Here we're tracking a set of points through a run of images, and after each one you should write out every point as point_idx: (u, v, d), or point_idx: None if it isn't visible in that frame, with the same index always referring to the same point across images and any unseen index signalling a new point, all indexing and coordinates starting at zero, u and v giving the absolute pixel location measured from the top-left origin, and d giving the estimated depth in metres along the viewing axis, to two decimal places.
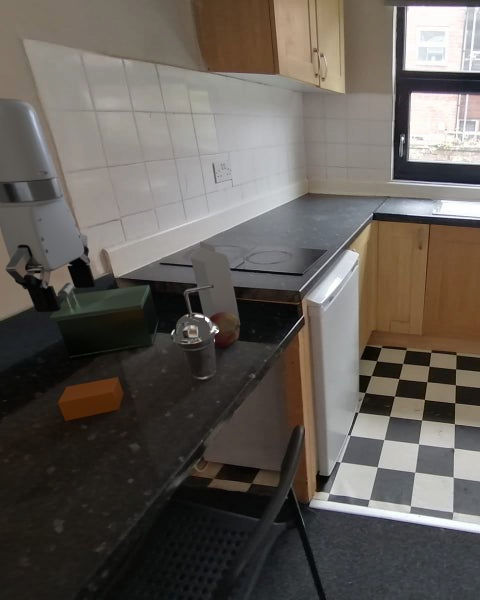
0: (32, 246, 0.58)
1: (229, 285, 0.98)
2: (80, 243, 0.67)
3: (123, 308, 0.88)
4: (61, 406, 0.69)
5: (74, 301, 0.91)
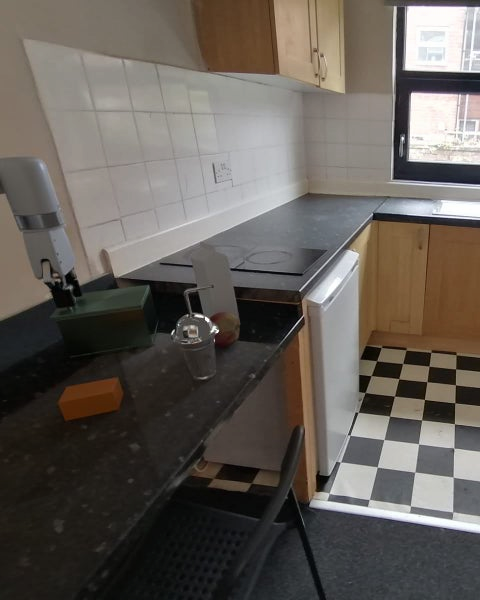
0: (51, 259, 0.81)
1: (229, 285, 0.98)
2: (73, 256, 0.90)
3: (123, 308, 0.88)
4: (61, 406, 0.69)
5: (74, 301, 0.91)
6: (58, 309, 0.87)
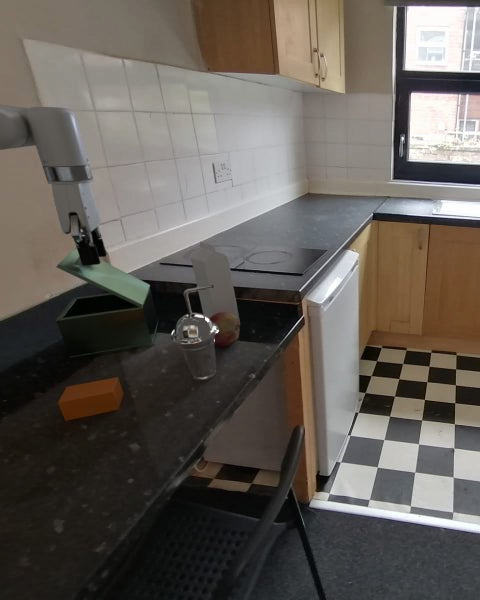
0: (79, 213, 0.80)
1: (229, 285, 0.98)
2: (99, 214, 0.89)
3: (125, 298, 0.88)
4: (61, 406, 0.69)
5: None
6: (66, 259, 0.84)
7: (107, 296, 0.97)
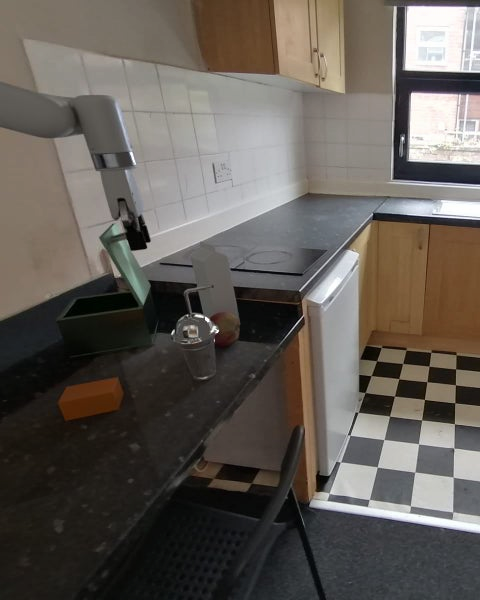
0: (127, 198, 0.82)
1: (229, 285, 0.98)
2: (142, 201, 0.91)
3: (133, 292, 0.88)
4: (61, 406, 0.69)
5: (117, 238, 0.89)
6: (108, 234, 0.85)
7: (107, 296, 0.97)
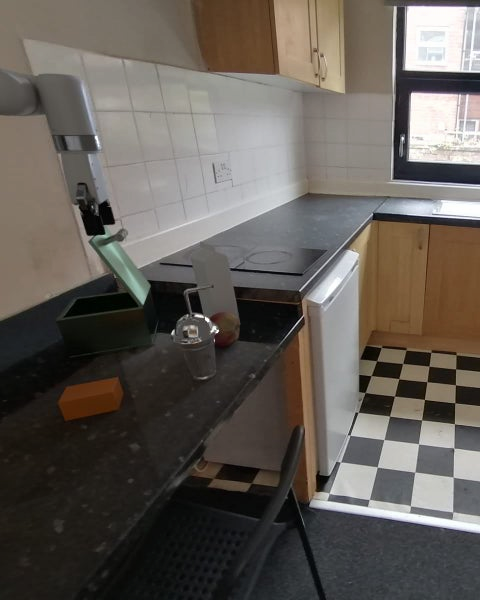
0: (88, 183, 0.79)
1: (229, 285, 0.98)
2: (107, 188, 0.88)
3: (131, 293, 0.88)
4: (61, 406, 0.69)
5: None
6: (98, 237, 0.85)
7: (107, 296, 0.97)
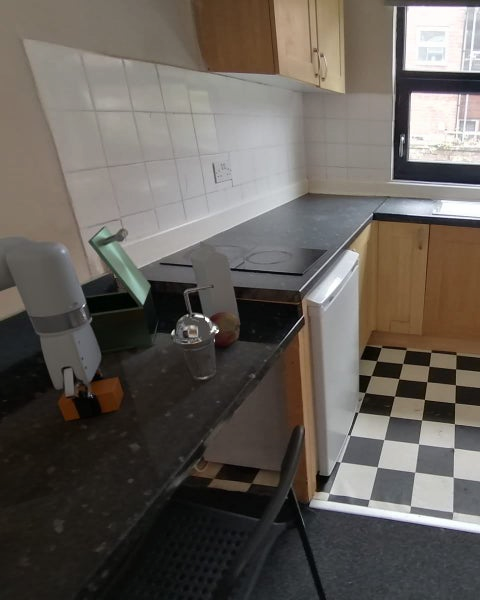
0: (75, 366, 0.65)
1: (229, 285, 0.98)
2: (99, 350, 0.74)
3: (131, 293, 0.88)
4: (61, 406, 0.69)
5: None
6: (98, 237, 0.85)
7: (107, 296, 0.97)
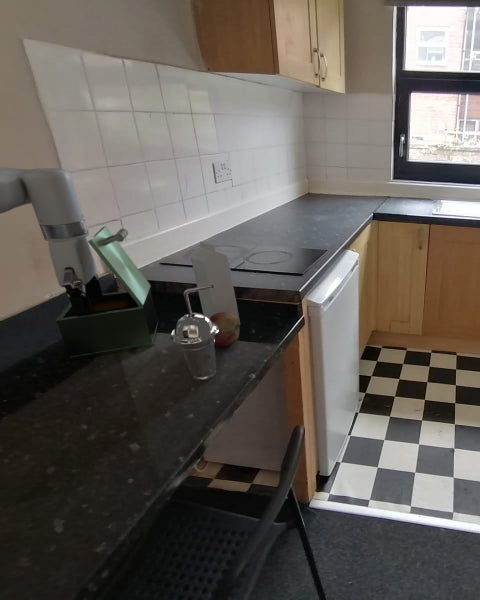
0: (75, 267, 0.83)
1: (229, 285, 0.98)
2: (94, 264, 0.92)
3: (131, 293, 0.88)
4: None
5: None
6: (98, 237, 0.85)
7: (107, 296, 0.97)
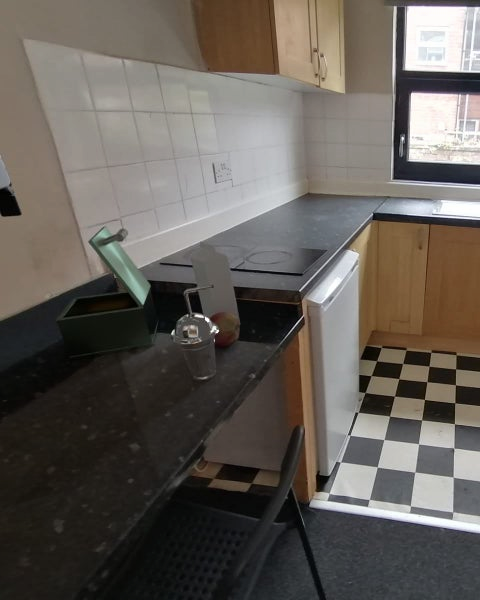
0: None
1: (229, 285, 0.98)
2: (7, 174, 0.79)
3: (131, 293, 0.88)
4: None
5: None
6: (98, 237, 0.85)
7: (107, 296, 0.97)
